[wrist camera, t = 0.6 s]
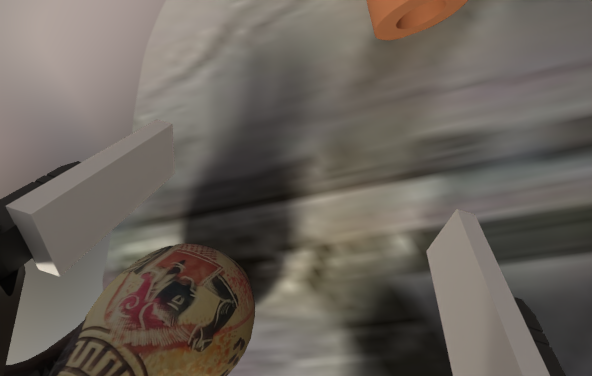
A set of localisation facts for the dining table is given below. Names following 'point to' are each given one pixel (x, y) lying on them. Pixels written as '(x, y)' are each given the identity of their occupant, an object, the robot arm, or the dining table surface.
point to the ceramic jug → (159, 321)
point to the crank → (408, 15)
